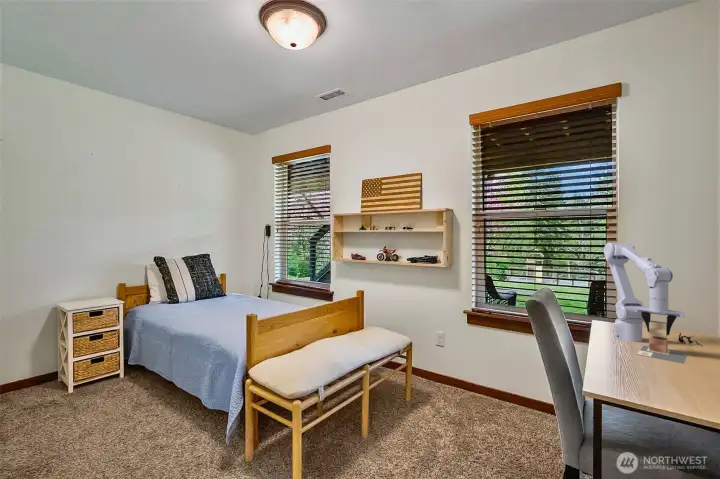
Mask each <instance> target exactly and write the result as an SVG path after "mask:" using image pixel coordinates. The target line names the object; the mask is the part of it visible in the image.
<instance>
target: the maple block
mask: <svg viewBox="0 0 720 479" xmlns="http://www.w3.org/2000/svg"><path fill="white" fill-rule="evenodd" d="M648 333H649V334H648V336H649V337H650V336H656V337H663V338H668V336H669V335H667V322H666V321H665V322H663V321H658V320H650V322H649V332H648Z"/></svg>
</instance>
